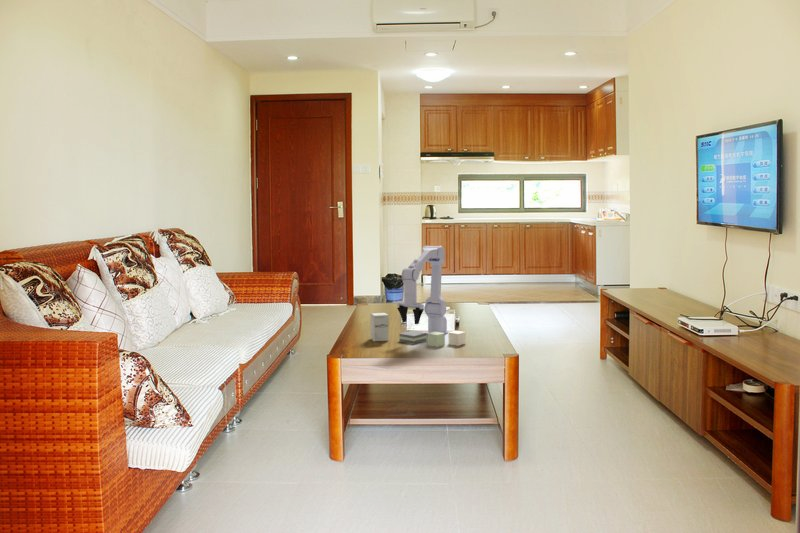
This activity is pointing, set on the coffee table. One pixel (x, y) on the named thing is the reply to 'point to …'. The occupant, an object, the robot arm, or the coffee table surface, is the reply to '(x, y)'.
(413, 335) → the grey striped square box
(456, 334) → the cream block
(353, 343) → the coffee table surface
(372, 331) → the supplement box
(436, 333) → the sage block
